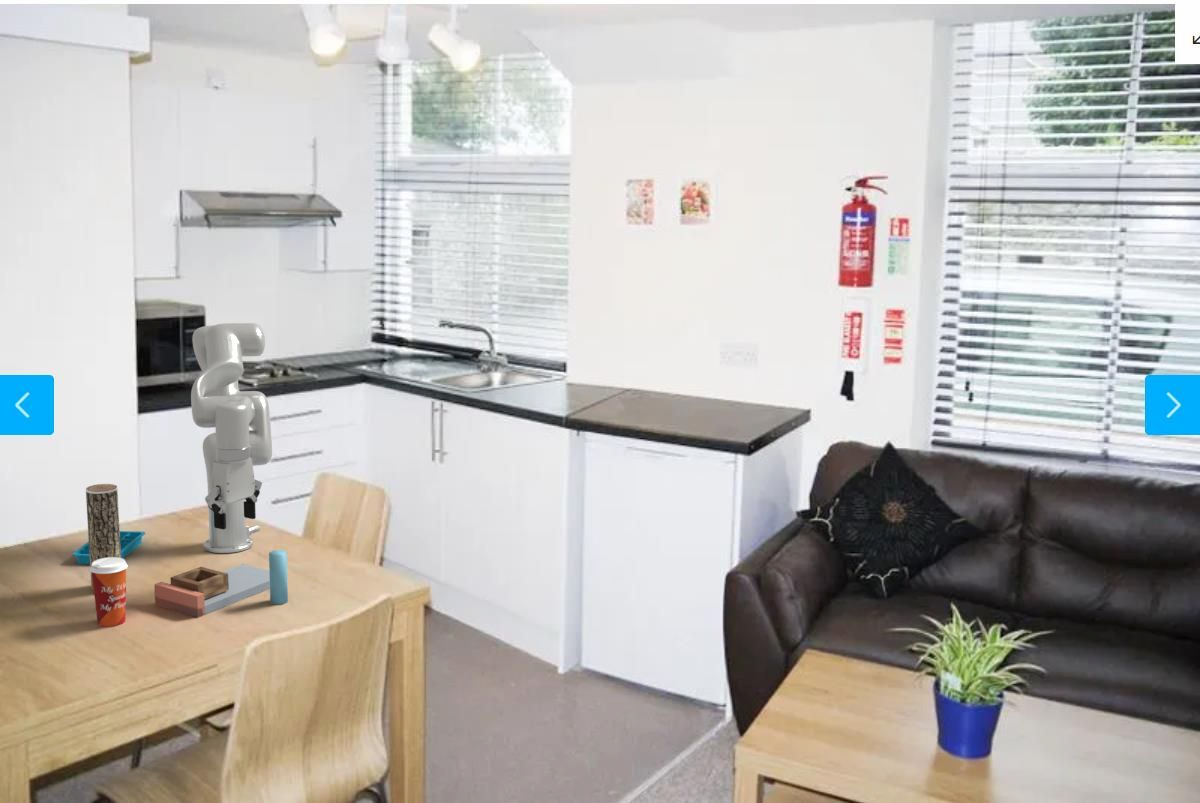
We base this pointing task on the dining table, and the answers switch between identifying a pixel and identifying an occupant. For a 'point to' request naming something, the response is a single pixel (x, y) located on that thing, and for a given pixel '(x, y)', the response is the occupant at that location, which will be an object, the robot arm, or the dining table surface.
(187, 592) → the long flat grey board
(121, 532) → the ice cube tray
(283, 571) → the dowel
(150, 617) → the dining table surface
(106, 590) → the paper cup
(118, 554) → the bark log
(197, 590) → the square wooden tray
